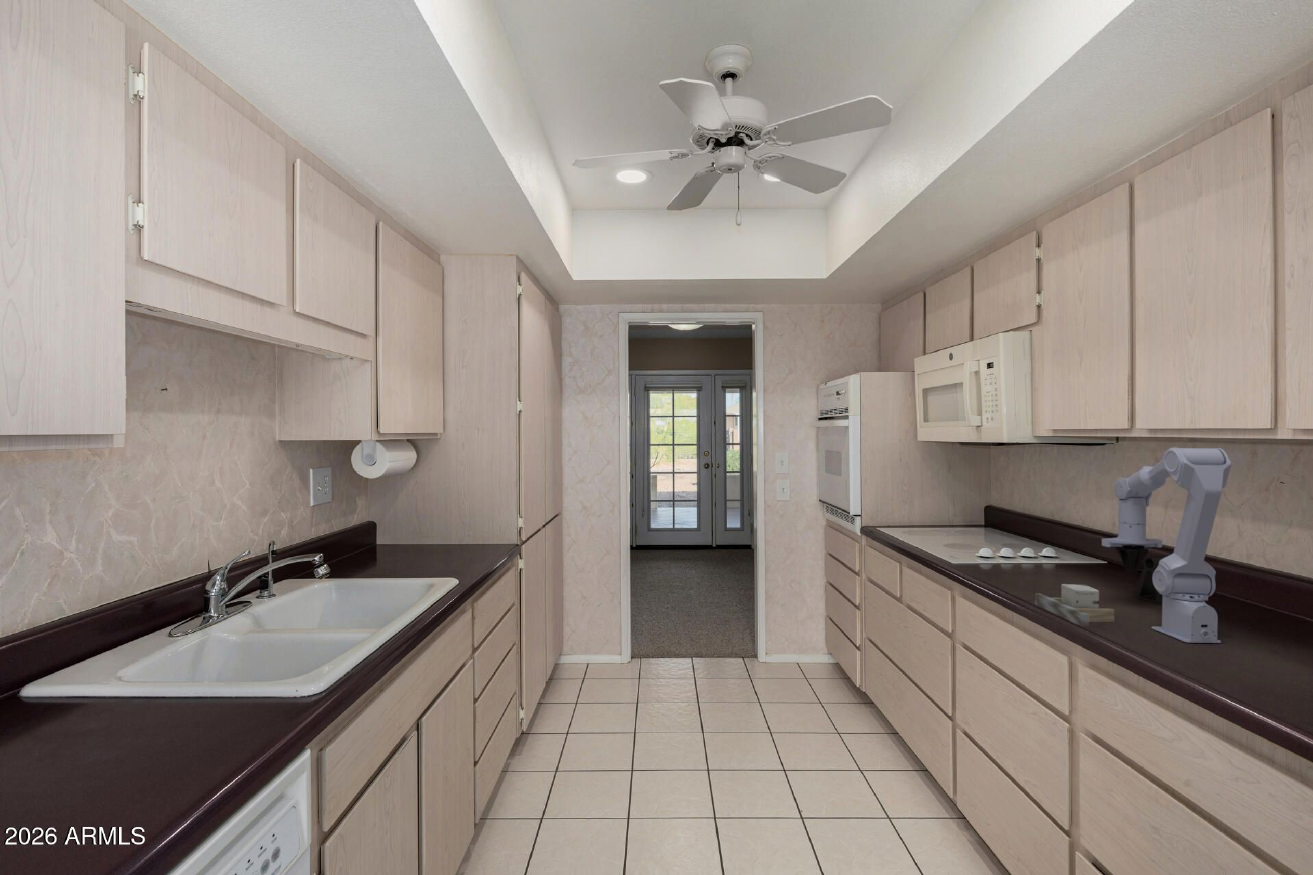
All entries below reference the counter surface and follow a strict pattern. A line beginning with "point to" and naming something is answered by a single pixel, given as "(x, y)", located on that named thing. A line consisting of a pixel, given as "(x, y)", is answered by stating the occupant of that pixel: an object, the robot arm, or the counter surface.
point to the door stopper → (1148, 582)
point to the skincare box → (1079, 596)
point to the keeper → (1074, 611)
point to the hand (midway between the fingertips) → (1131, 573)
